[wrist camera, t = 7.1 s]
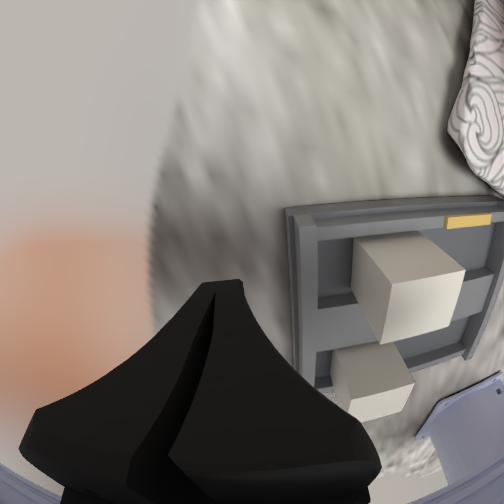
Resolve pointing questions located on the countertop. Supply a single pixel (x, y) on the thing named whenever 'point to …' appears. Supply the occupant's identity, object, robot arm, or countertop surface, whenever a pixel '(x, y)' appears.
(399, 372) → the tab
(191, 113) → the countertop surface
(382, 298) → the tab
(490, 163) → the cookie jar
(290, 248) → the tray
